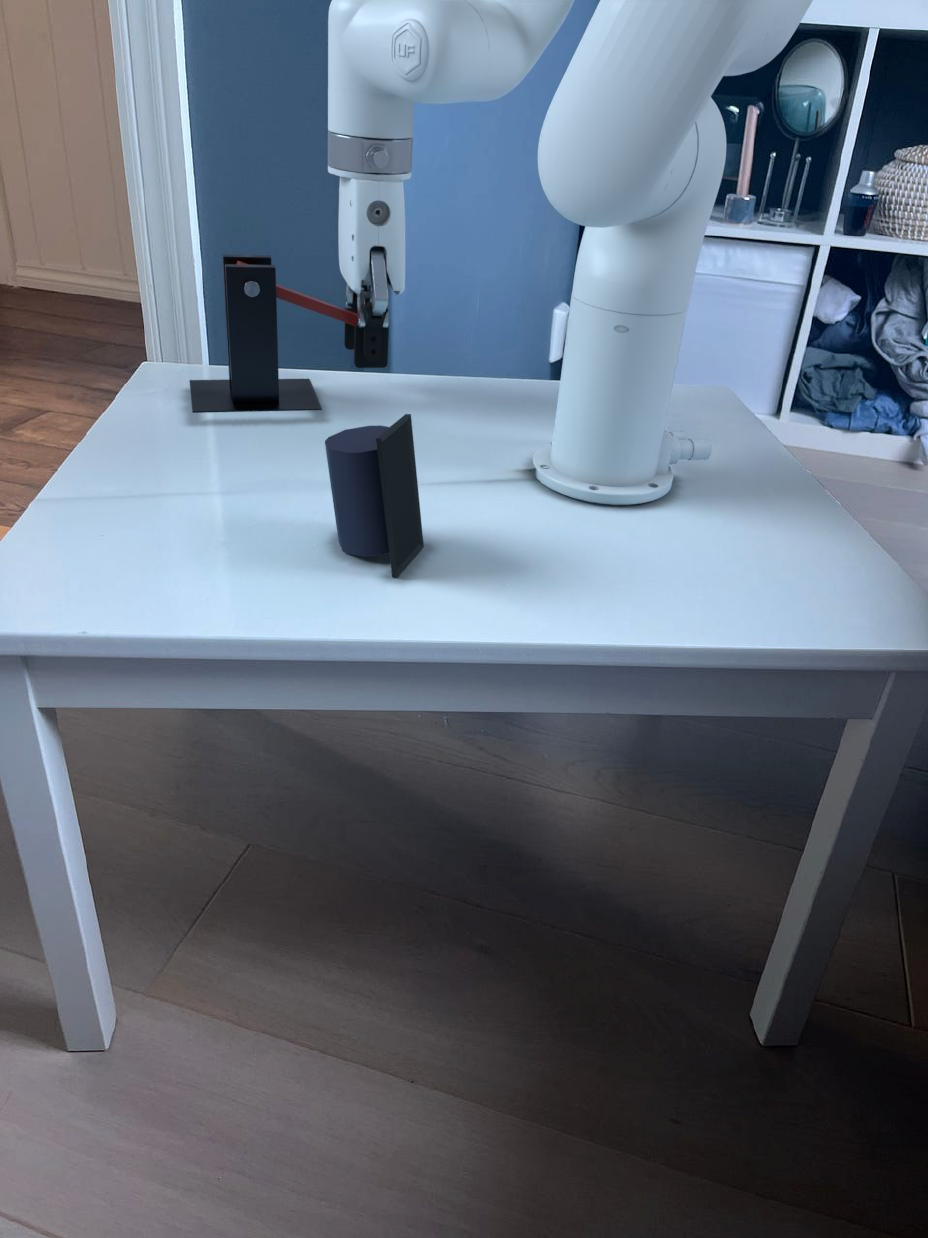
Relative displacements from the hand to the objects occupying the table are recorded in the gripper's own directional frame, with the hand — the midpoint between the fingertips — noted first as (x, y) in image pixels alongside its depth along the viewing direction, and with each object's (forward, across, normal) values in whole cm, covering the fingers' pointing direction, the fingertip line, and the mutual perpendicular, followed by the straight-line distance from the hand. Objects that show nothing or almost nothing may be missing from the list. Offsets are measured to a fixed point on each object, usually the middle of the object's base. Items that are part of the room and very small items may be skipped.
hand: (365, 355), depth 97 cm
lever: (-4, 0, +6) cm, 7 cm away
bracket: (+5, 0, +11) cm, 12 cm away
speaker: (+5, -31, +5) cm, 32 cm away
